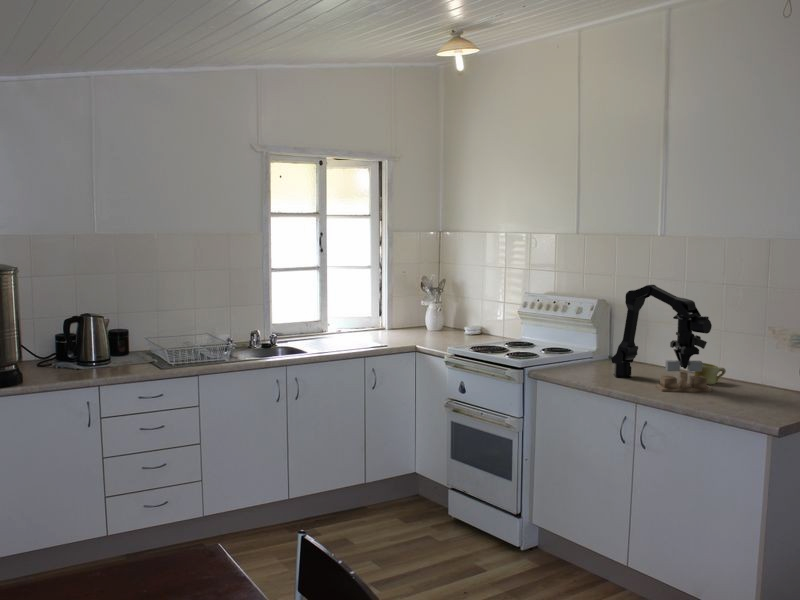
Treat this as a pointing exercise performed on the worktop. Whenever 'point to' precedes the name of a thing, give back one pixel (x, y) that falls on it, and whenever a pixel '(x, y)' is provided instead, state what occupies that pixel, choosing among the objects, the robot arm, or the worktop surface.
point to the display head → (683, 383)
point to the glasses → (675, 365)
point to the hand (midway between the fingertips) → (683, 367)
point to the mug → (710, 373)
